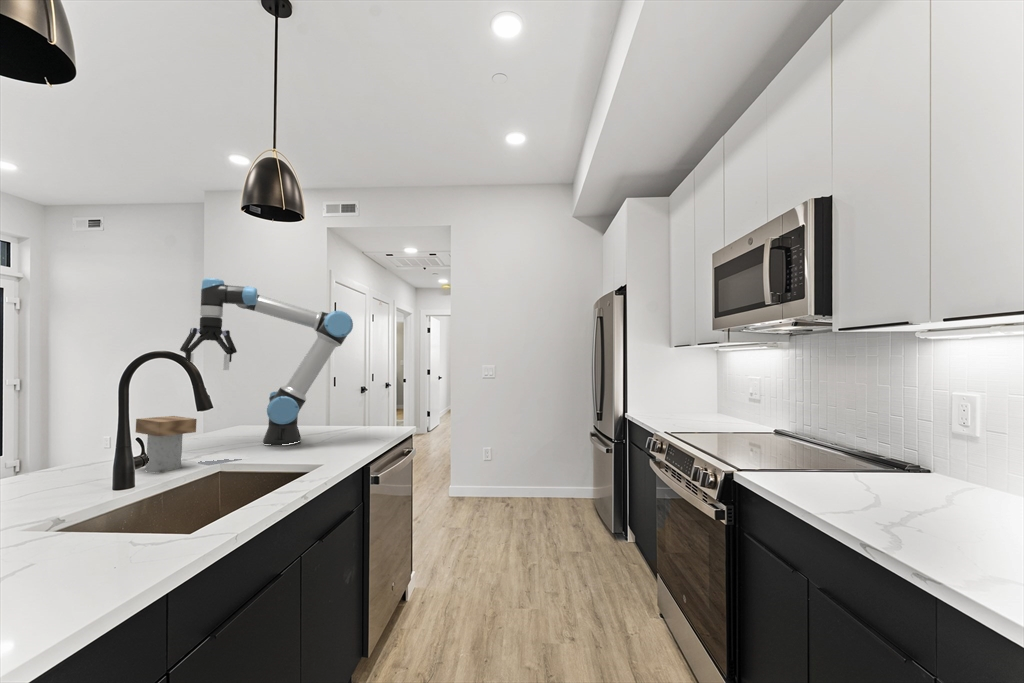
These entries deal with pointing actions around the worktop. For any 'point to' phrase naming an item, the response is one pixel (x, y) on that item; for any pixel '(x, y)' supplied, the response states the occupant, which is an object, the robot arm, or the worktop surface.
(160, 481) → the worktop surface
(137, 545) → the worktop surface
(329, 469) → the worktop surface
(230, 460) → the mat
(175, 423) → the board
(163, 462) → the grey speckled cylinder
